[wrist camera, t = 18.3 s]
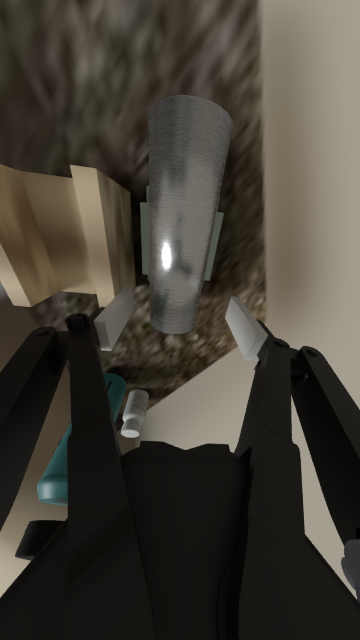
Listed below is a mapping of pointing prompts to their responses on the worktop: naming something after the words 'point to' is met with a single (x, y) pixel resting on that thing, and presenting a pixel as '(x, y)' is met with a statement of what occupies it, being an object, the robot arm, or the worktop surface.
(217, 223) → the v block
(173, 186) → the axle
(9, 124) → the worktop surface
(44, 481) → the beverage bottle
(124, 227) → the wooden bracket
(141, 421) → the pill bottle
